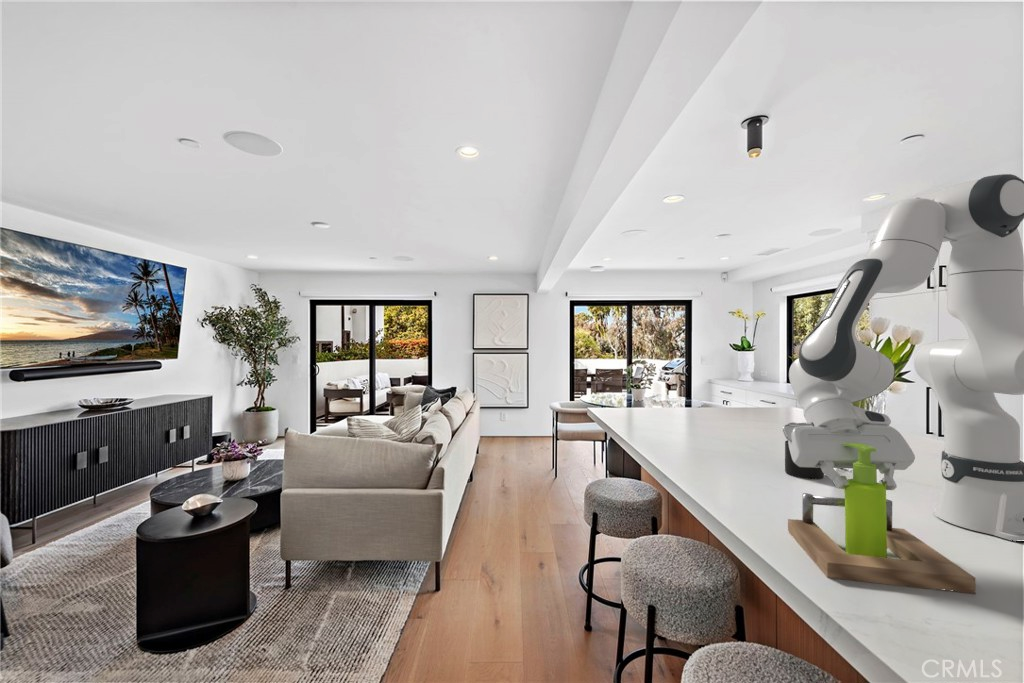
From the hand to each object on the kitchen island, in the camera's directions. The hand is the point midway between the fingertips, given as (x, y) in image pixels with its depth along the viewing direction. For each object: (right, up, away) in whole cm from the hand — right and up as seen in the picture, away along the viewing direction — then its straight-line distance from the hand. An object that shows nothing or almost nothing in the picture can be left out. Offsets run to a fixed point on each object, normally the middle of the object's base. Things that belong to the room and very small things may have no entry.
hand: (866, 488), depth 80 cm
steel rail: (+2, -10, +7) cm, 12 cm away
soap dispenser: (0, -13, +1) cm, 13 cm away
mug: (+21, -12, +47) cm, 52 cm away
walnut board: (0, -12, -1) cm, 12 cm away
